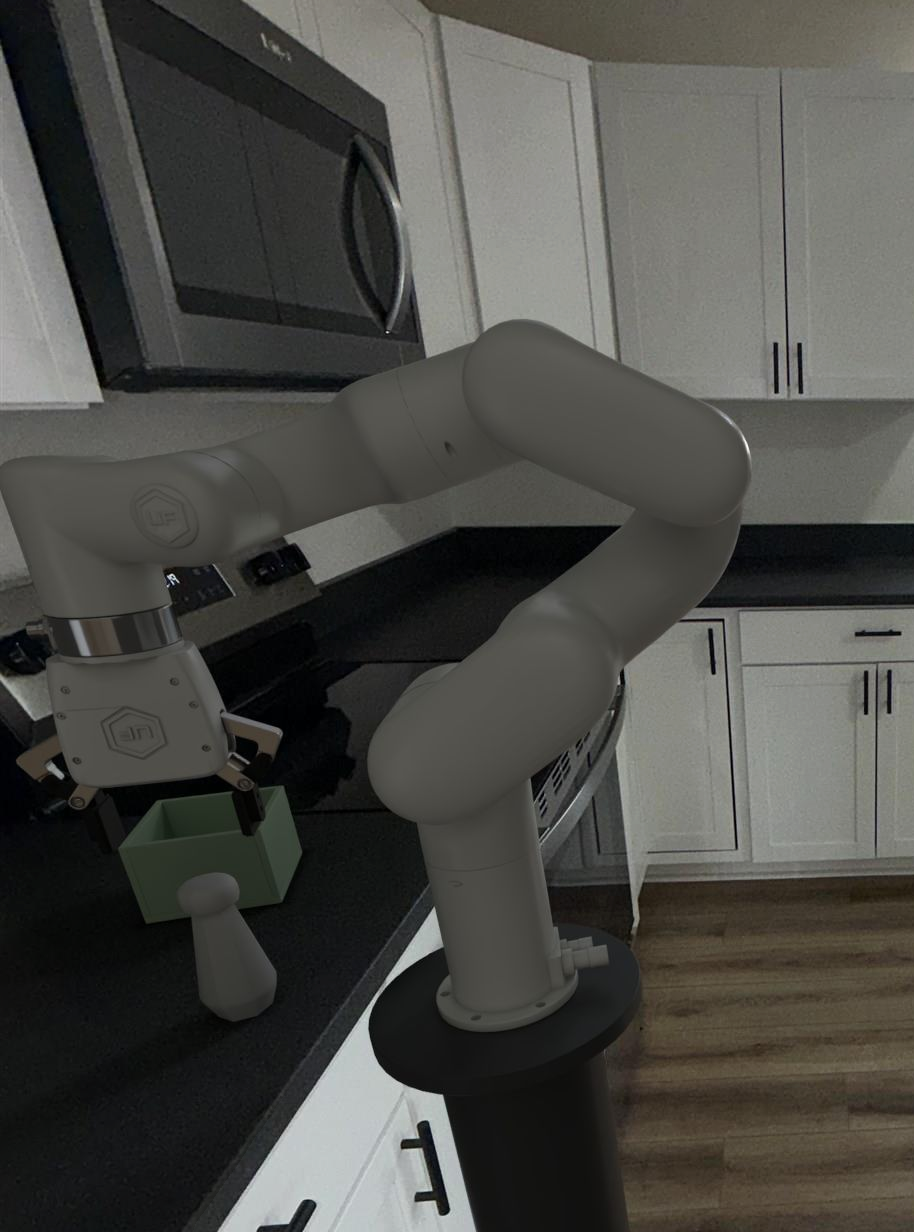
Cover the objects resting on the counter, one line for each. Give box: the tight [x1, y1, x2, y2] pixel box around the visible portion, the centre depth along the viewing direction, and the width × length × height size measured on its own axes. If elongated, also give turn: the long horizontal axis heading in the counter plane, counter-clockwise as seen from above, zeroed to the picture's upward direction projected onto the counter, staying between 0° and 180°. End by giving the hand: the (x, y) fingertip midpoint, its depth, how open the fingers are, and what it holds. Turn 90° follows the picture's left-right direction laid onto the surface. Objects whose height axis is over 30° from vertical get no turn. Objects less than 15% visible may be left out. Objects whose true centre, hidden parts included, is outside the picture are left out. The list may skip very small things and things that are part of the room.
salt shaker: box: [176, 873, 278, 1023], centre depth 80 cm, size 6×6×13 cm
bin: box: [117, 785, 303, 925], centre depth 101 cm, size 12×12×9 cm
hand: (185, 838), depth 75 cm, fingers open, 9 cm apart
